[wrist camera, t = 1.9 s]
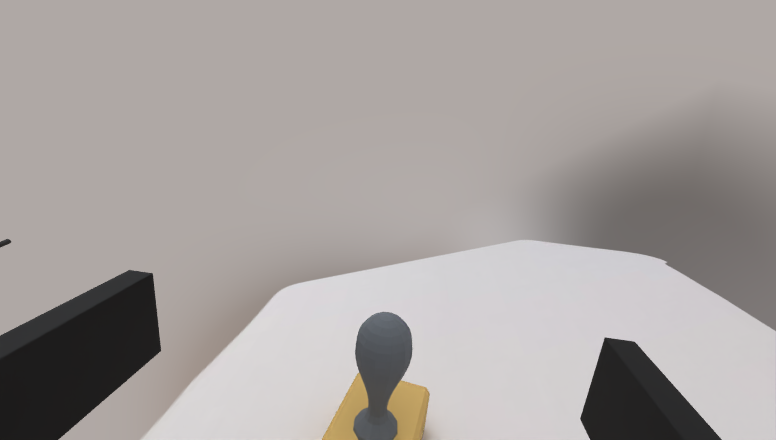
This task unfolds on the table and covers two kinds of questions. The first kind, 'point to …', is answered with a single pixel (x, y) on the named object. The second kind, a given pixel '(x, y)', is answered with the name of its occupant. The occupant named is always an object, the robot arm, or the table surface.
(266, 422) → the table surface
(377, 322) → the rubber stamp
